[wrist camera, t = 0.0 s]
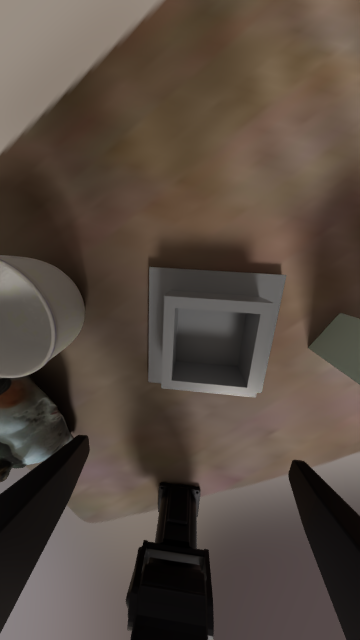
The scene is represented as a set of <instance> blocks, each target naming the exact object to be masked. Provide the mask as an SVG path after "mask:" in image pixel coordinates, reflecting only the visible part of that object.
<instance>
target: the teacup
mask: <svg viewBox="0 0 360 640" xmlns="http://www.w3.org/2000/svg"><path fill="white" fill-rule="evenodd" d="M84 318H85V307H84V302H83V299H82V296H81V294H80V292H79V290H78V288H77V286H76V285H75V284H74V282H73V281H72V280H71V279H70V278H69V277H68V276H67V275H66V274H65V273H64V272H62V271H61V270H60V269H58V268H57V267H55V266H53V265H51V264H49V263H46V262H44V261H41V260H37V259H33V258H27V257H19V256H8V255H0V377H3V378H16V377H23V376H26V375H29V374H32V373H33V372H35V371H37V370H39V369H40V368H42V367H43V366H44V365H45V364H46V363H47V362H48V361H49V360H50V359H52V358H53V357H54V356H56V355H57V354H58V353H60V352H61V351H62V350H63V349H65V348H66V347H67V346H68V345H69V344H70V343H72V342H73V341H74V339H75V338H76V337H77V336H78V334H79V333H80V331H81V329H82V327H83V323H84Z"/></svg>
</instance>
